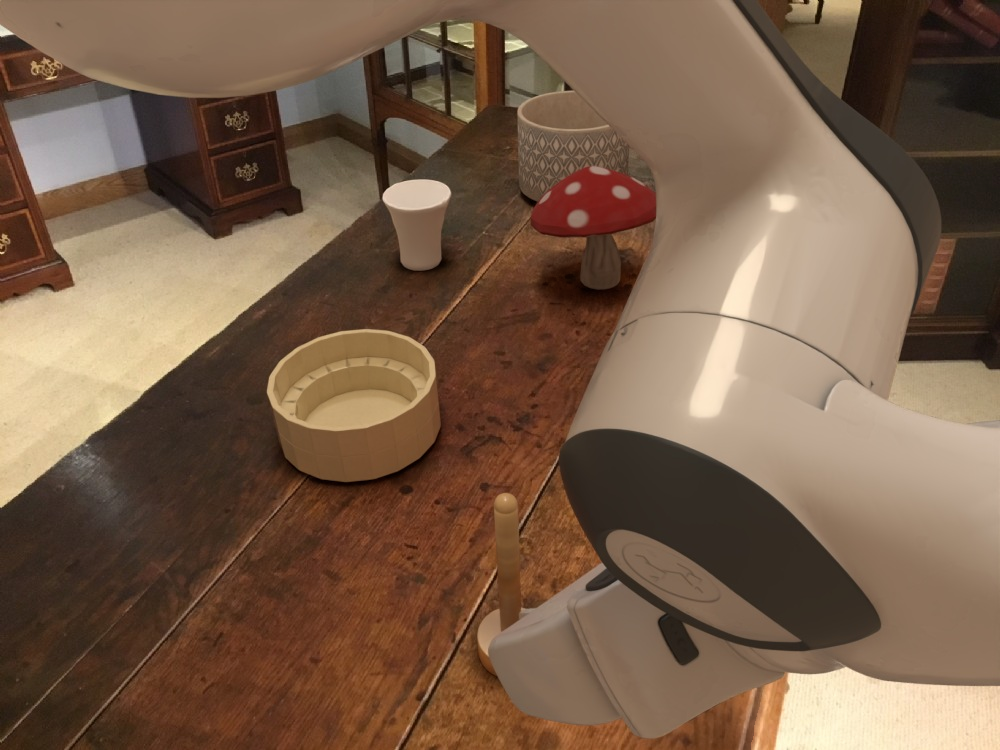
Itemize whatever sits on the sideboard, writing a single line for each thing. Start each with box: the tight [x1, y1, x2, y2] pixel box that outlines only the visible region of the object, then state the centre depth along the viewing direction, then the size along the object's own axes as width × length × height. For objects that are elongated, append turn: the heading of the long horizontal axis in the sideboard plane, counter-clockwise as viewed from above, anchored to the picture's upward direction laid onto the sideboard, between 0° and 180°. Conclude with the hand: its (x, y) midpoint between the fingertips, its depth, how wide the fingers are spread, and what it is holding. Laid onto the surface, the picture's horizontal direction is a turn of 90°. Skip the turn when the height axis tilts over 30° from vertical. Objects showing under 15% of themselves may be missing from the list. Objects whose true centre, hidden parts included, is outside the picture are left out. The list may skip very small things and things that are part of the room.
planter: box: [516, 90, 630, 203], centre depth 127 cm, size 16×16×13 cm
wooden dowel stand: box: [476, 492, 526, 678], centre depth 61 cm, size 5×5×17 cm
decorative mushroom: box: [530, 166, 656, 291], centre depth 105 cm, size 16×16×15 cm
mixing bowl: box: [266, 328, 442, 483], centre depth 85 cm, size 16×16×7 cm
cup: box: [382, 179, 452, 272], centre depth 112 cm, size 9×9×10 cm
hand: (593, 577), depth 51 cm, fingers open, 8 cm apart
